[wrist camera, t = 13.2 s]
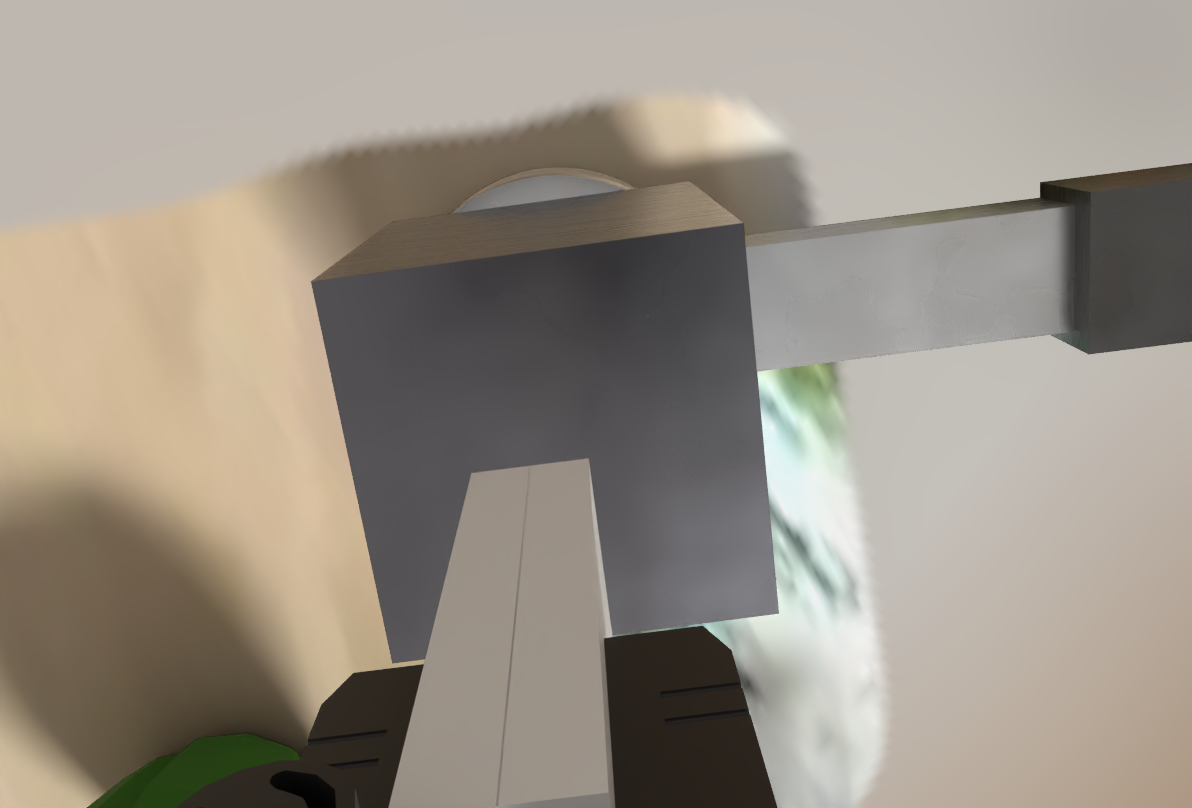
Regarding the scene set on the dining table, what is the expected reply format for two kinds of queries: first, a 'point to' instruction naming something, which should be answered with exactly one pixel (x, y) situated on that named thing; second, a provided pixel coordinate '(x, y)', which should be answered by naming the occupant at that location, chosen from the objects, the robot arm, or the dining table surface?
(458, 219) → the dark grey cube
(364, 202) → the dining table surface
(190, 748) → the bell pepper
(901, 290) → the ratchet
